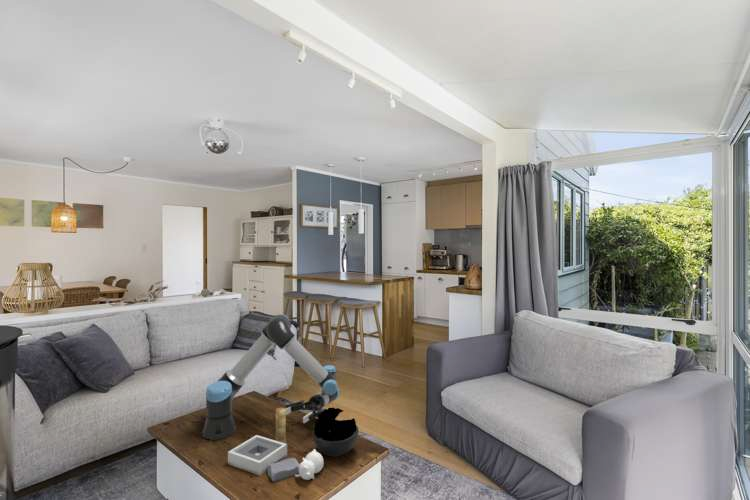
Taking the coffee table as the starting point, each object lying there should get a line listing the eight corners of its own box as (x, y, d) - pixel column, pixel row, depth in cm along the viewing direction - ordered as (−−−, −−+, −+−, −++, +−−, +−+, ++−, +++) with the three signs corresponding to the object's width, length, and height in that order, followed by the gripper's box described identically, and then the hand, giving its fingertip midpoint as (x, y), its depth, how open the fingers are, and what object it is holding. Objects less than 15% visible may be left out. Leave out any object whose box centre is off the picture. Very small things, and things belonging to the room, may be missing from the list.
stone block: (265, 476, 149) (272, 483, 140) (265, 463, 150) (272, 470, 141) (294, 467, 155) (302, 474, 146) (293, 455, 156) (302, 461, 147)
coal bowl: (336, 437, 175) (335, 397, 175) (368, 451, 162) (367, 408, 163) (303, 455, 160) (302, 412, 160) (335, 472, 147) (335, 425, 147)
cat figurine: (304, 459, 140) (320, 443, 151) (285, 469, 143) (302, 453, 154) (315, 481, 138) (331, 463, 149) (295, 491, 142) (312, 472, 153)
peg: (273, 445, 168) (273, 410, 168) (280, 441, 172) (280, 406, 172) (281, 447, 166) (280, 412, 166) (287, 443, 170) (287, 408, 170)
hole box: (228, 463, 154) (227, 451, 154) (256, 445, 168) (256, 434, 168) (259, 475, 146) (259, 462, 146) (287, 455, 160) (287, 444, 160)
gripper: (338, 412, 189) (313, 431, 170) (300, 404, 200) (272, 420, 182) (338, 398, 189) (313, 414, 170) (299, 390, 200) (272, 404, 182)
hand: (292, 417), depth 176 cm, fingers open, 13 cm apart
